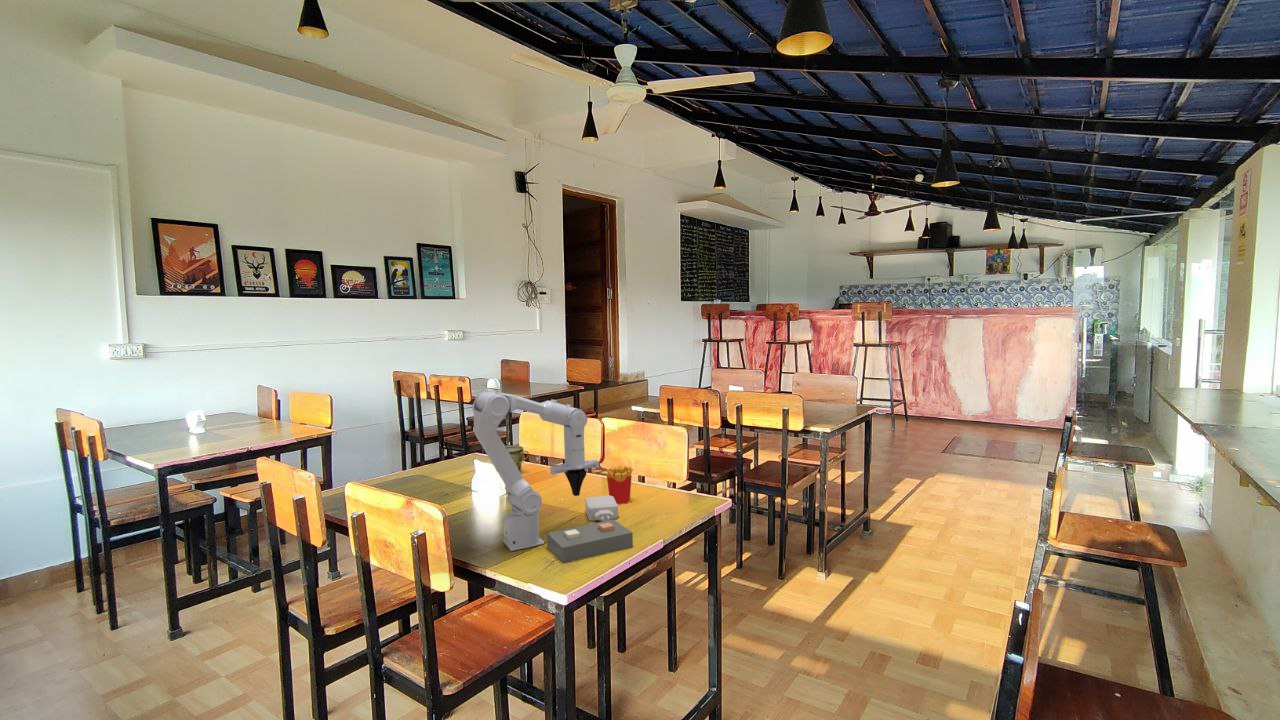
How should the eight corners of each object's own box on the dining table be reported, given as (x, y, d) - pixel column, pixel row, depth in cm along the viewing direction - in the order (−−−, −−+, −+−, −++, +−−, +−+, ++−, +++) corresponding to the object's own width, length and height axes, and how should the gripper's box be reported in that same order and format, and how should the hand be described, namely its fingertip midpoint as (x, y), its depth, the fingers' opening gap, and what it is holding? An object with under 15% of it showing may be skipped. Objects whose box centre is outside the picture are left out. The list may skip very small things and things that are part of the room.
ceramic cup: (493, 475, 240) (492, 450, 239) (507, 469, 249) (506, 444, 248) (523, 477, 236) (522, 452, 235) (535, 471, 245) (534, 446, 244)
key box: (563, 562, 157) (562, 547, 156) (547, 547, 167) (546, 532, 167) (632, 546, 166) (632, 532, 166) (613, 532, 176) (613, 519, 176)
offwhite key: (569, 546, 162) (568, 535, 162) (564, 542, 165) (564, 531, 164) (580, 543, 163) (579, 532, 163) (575, 539, 166) (575, 529, 166)
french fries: (609, 505, 201) (608, 469, 200) (606, 501, 205) (605, 466, 204) (634, 502, 203) (633, 467, 202) (631, 498, 207) (630, 464, 206)
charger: (590, 528, 181) (585, 512, 196) (621, 525, 183) (614, 509, 197) (590, 512, 181) (585, 497, 195) (621, 510, 182) (613, 495, 197)
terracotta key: (603, 538, 166) (603, 528, 166) (598, 535, 169) (598, 524, 169) (614, 536, 168) (613, 525, 168) (609, 532, 171) (608, 522, 171)
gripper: (555, 455, 171) (557, 502, 172) (603, 448, 177) (604, 494, 179) (547, 450, 177) (548, 496, 178) (593, 443, 184) (594, 488, 185)
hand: (576, 494), depth 179 cm, fingers closed
